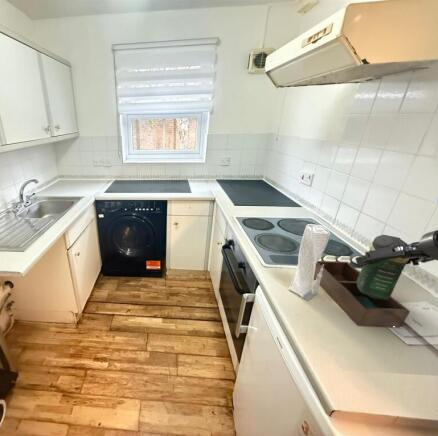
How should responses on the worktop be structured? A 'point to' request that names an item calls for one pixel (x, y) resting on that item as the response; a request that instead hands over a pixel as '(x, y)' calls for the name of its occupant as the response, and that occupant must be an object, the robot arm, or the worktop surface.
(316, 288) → the skyscraper
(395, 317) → the organiser
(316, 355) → the worktop surface
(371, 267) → the coffee jar
